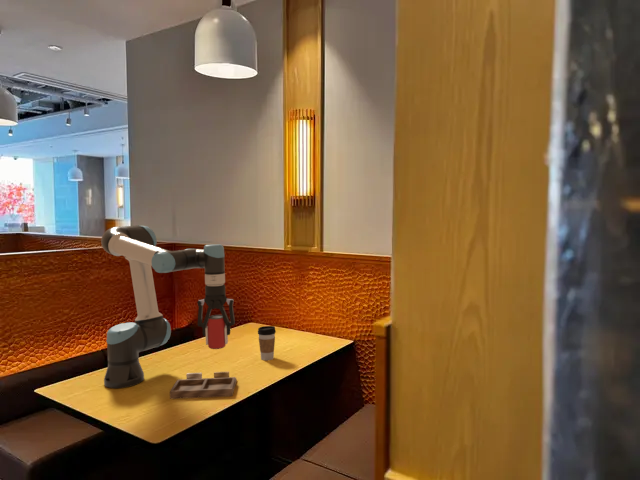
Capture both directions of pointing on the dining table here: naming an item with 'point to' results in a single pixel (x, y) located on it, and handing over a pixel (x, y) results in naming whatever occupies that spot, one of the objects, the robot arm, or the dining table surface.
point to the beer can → (216, 332)
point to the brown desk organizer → (203, 386)
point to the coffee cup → (267, 342)
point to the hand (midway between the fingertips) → (216, 343)
